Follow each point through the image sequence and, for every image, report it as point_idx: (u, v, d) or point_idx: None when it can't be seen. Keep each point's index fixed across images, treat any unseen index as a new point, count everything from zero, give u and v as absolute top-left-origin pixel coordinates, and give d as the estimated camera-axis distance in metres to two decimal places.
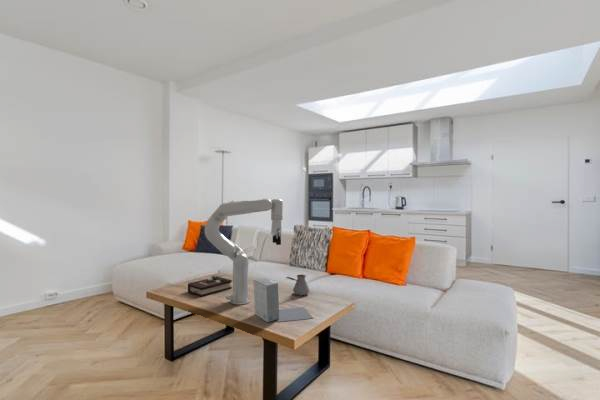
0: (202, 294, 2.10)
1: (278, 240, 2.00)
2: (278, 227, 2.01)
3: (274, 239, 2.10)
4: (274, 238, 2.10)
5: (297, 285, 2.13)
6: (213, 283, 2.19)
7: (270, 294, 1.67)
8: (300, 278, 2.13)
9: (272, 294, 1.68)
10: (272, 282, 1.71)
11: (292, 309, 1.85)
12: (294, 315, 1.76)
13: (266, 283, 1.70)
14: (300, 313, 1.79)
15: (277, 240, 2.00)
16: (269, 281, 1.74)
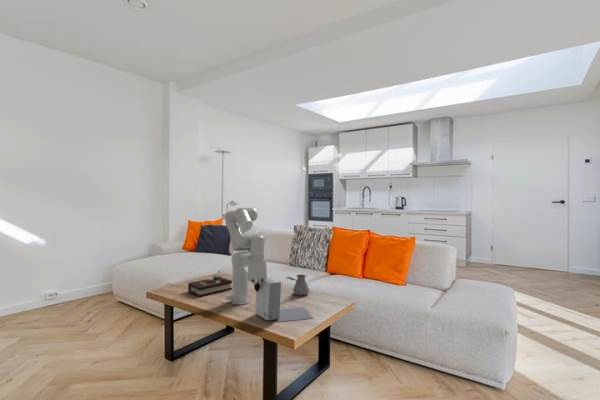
0: (200, 294, 2.10)
1: (259, 285, 1.73)
2: None
3: None
4: None
5: (297, 285, 2.13)
6: (213, 283, 2.18)
7: (272, 292, 1.68)
8: (300, 278, 2.13)
9: (275, 292, 1.69)
10: (275, 281, 1.73)
11: (292, 309, 1.85)
12: (294, 315, 1.76)
13: (270, 281, 1.72)
14: (300, 313, 1.79)
15: (259, 285, 1.72)
16: (272, 280, 1.75)
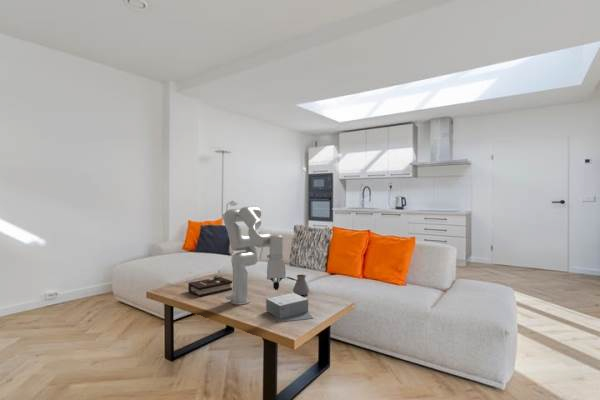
0: (200, 294, 2.10)
1: (278, 284, 1.76)
2: None
3: None
4: None
5: (297, 285, 2.13)
6: (212, 283, 2.18)
7: (301, 304, 1.79)
8: (300, 278, 2.13)
9: (301, 307, 1.78)
10: None
11: None
12: (294, 315, 1.76)
13: None
14: (300, 313, 1.79)
15: (278, 284, 1.75)
16: None
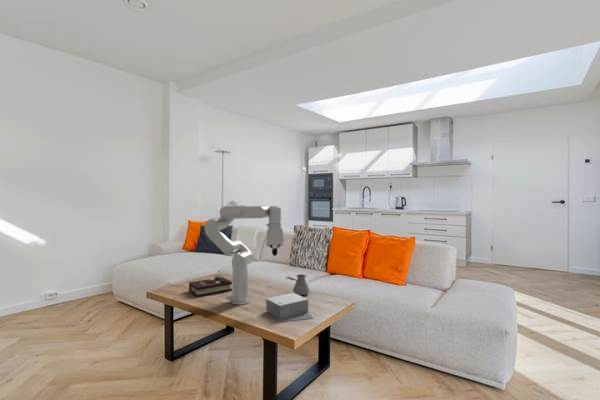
0: (198, 294, 2.10)
1: None
2: None
3: None
4: None
5: (297, 285, 2.13)
6: (212, 284, 2.17)
7: (301, 304, 1.79)
8: (300, 278, 2.13)
9: (301, 307, 1.78)
10: None
11: None
12: (294, 315, 1.76)
13: None
14: (300, 313, 1.79)
15: (276, 250, 1.93)
16: None
